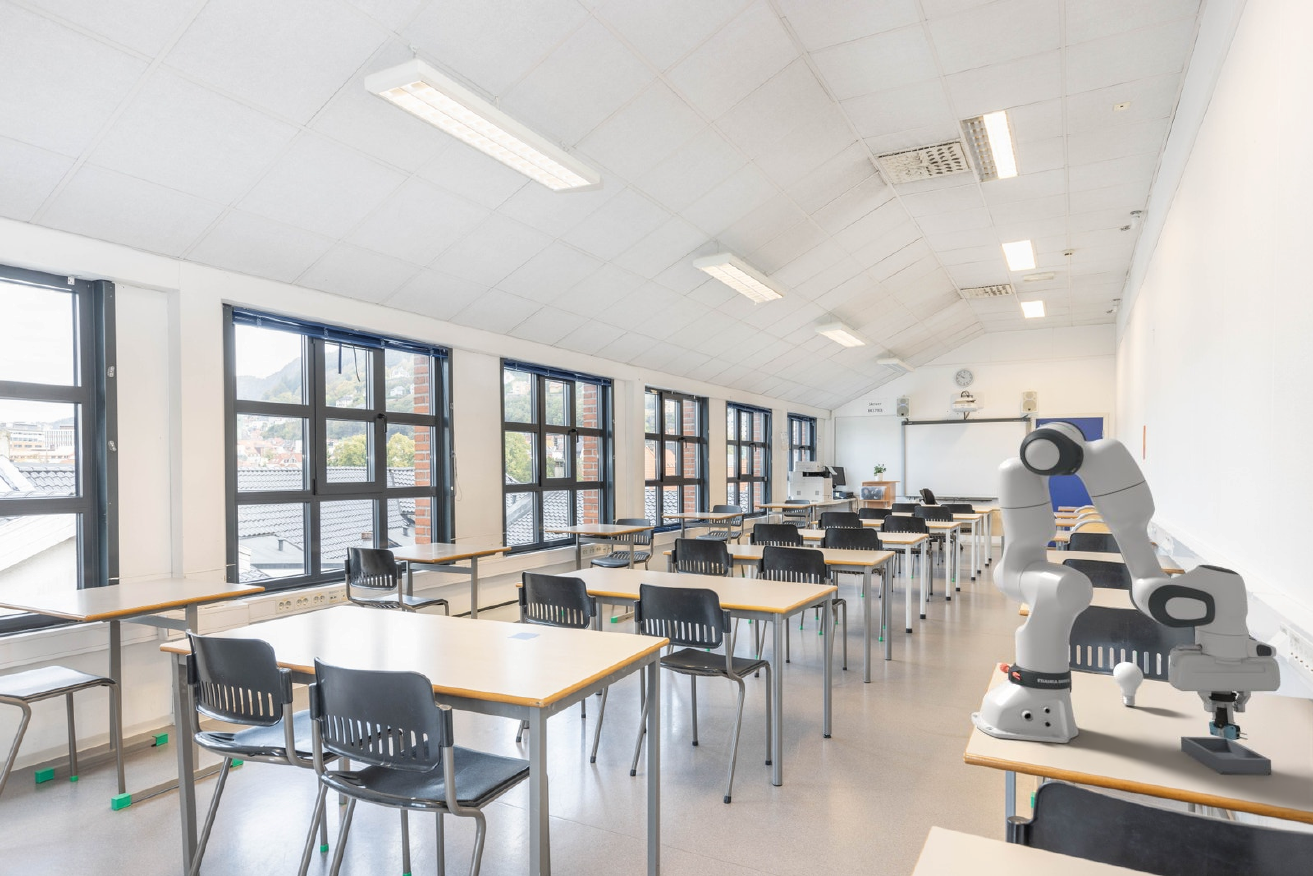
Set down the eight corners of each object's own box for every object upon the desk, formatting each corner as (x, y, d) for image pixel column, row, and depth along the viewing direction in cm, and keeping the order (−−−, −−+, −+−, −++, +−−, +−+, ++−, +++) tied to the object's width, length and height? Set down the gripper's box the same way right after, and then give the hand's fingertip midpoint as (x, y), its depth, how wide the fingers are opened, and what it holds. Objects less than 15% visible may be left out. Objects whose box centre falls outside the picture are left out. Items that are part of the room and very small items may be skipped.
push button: (1255, 740, 145) (1249, 689, 147) (1239, 744, 143) (1233, 692, 145) (1218, 732, 151) (1213, 683, 153) (1203, 735, 149) (1198, 685, 151)
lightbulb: (1129, 711, 178) (1128, 666, 178) (1108, 703, 184) (1107, 660, 184) (1150, 709, 179) (1149, 665, 180) (1128, 701, 185) (1127, 658, 186)
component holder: (1221, 774, 142) (1220, 759, 142) (1181, 750, 154) (1181, 736, 154) (1271, 775, 142) (1270, 760, 142) (1227, 751, 153) (1227, 737, 153)
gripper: (1180, 648, 146) (1182, 717, 145) (1285, 648, 144) (1287, 717, 144) (1160, 640, 152) (1162, 706, 152) (1260, 640, 151) (1263, 706, 150)
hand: (1224, 711), depth 148 cm, fingers closed on push button, 4 cm apart
